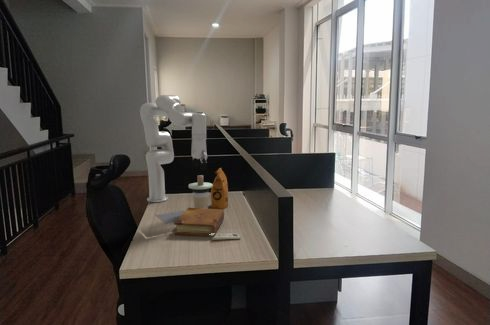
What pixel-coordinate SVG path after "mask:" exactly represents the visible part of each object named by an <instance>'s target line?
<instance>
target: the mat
mask: <svg viewBox="0 0 490 325" xmlns="http://www.w3.org/2000/svg"><path fill="white" fill-rule="evenodd" d="M185 211H186V210H179V211H173V212H166V213H159V214H155V216H156V217H157V218H159V220H161V221H162V222H163V223H165V224H169V223H175V222H176V221H177V220H178V219H179V217H180V216H181V215H182V214H183V213H184V212H185Z"/></svg>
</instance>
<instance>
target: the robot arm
mask: <svg viewBox="0 0 490 325" xmlns="http://www.w3.org/2000/svg"><path fill="white" fill-rule="evenodd" d="M139 110H140V111H139V114H140V119H141V122H142V124H143V129H144V137H145V142H146V145H147V147H149V148H156V149H152V150H149V151H147V152H146V154H145V160H146V165H147V172H148V173H147V174H148V189H149V191H148V193H149V197H147V198H146V201H147V202H149V203H162V202H166V201H168V198H169V197H168V196H166V189H165V188H166V187H165V186H166V185H165V171H164V168H163V167H162V166H161V165H166V164H167V165H168V164H171V163H172V162H173V161H174V159H175V153H174V147H173V146H174V145H173V139H172V137H171V134H170V133H169V132H168V131H166V130H165V131H164V130H161V131H160V130H159V125H158V122H157V120H156V119H155V118H154V117H156V118H157V117H158V118H160V117H168V120H169V121H170V122H171V123H172V124H174V125H175V126H176V127H180V128H186V127H191V153H190V154H191V157H192V158H191V159H192V168H199V167H200V171H207V163H208V154H207V116H206V114H205V113H199V112H195V111H192V112H189V111H188V112H185V111H184V112H182V106H181V100H180V98H179V97H178V96H177V95H175V94H160V95H159V96H156V98H155V102H145V103H143V104H142V105H141V107H140V109H139ZM199 160H200V161H199ZM199 162H200V163H199ZM199 164H200V165H199Z"/></svg>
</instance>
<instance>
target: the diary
mask: <svg viewBox="0 0 490 325" xmlns="http://www.w3.org/2000/svg"><path fill="white" fill-rule="evenodd" d="M184 211H185V212H184V213H183V214H182V215H181V216H180V217H179V219H178V220H177V221H176V222H174V225H175V226H176V227H175V228H176V230H175V231H174V235H178V236H179V235H181V236H197V237H198V236H200V237H209V236H208V235H209V234H211V233H217V232H218V230H219V228H220V226H221V225H222V222H223V221H224V219H225V209H216V208H214V209H213V208H208V209H206V208H194V207H188V208H187V209H186V210H184Z"/></svg>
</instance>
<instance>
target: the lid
mask: <svg viewBox="0 0 490 325" xmlns="http://www.w3.org/2000/svg"><path fill="white" fill-rule="evenodd" d="M212 187H213V183H211V182H204V175H203V174H202V175H201V174H200V175H197V182H193V183H189V184H188V187H187V188H189V189H190V190H193V189H211V188H212Z"/></svg>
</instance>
